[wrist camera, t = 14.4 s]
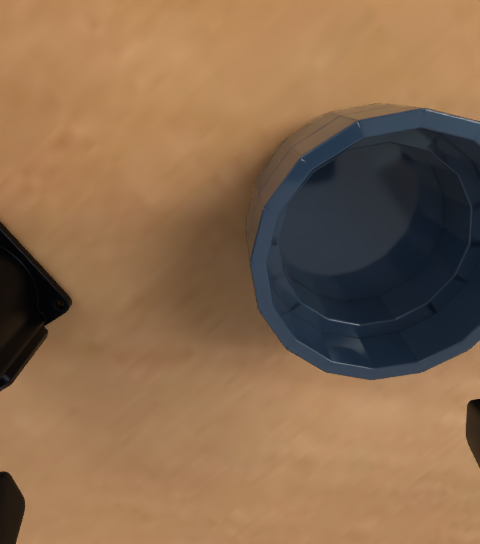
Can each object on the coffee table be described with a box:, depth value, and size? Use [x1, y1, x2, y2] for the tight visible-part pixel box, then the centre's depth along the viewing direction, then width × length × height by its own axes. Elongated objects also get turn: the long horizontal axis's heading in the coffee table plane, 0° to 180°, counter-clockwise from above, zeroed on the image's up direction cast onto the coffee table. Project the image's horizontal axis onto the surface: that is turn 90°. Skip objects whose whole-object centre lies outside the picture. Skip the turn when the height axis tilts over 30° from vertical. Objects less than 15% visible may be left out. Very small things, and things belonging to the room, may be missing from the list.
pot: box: [246, 103, 480, 380], centre depth 17 cm, size 10×10×5 cm
